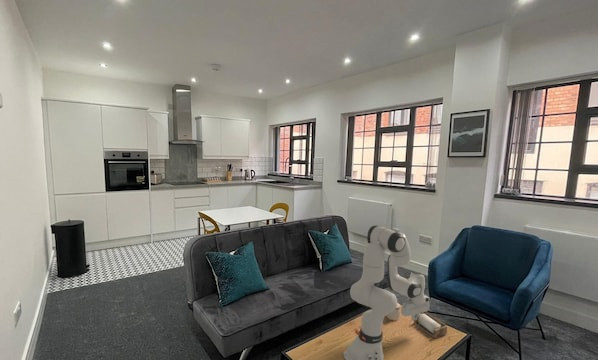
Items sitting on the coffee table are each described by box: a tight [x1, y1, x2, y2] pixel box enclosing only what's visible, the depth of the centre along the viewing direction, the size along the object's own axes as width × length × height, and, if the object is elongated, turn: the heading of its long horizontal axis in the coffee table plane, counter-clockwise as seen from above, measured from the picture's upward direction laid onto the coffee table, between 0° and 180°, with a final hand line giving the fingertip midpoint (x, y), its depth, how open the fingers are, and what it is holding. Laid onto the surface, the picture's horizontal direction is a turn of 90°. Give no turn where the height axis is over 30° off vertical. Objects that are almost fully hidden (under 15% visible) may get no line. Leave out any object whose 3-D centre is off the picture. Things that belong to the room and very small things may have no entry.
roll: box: [418, 313, 441, 335], centre depth 181 cm, size 12×7×7 cm, turn 20°
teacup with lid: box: [385, 302, 401, 321], centre depth 195 cm, size 12×9×12 cm
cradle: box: [413, 312, 448, 339], centre depth 181 cm, size 10×16×6 cm, turn 25°
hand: (414, 320), depth 174 cm, fingers closed
